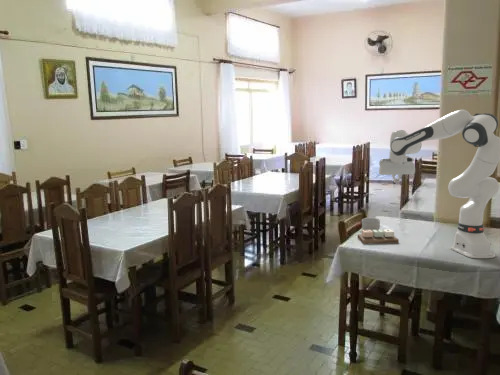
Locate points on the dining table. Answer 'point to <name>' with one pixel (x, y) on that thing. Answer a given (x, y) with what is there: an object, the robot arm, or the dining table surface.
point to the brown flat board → (377, 239)
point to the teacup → (370, 224)
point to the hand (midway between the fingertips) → (396, 182)
